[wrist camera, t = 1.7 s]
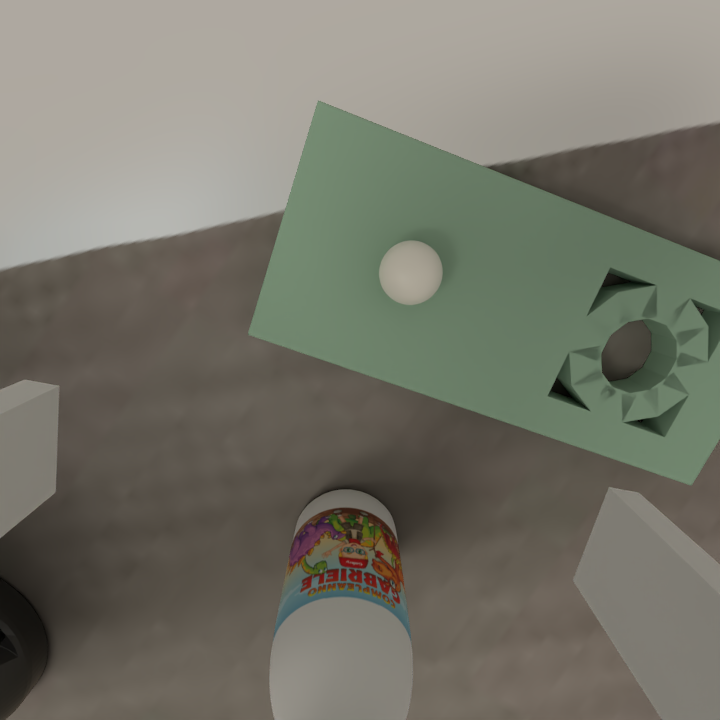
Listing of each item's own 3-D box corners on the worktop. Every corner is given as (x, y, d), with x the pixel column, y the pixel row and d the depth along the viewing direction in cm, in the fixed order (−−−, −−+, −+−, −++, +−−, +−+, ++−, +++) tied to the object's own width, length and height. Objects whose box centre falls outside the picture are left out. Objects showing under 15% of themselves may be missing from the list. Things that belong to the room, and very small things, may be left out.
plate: (256, 327, 30) (247, 334, 28) (321, 113, 27) (318, 100, 25) (666, 468, 33) (691, 485, 31) (770, 291, 30) (806, 295, 28)
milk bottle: (398, 567, 35) (452, 960, 16) (302, 576, 35) (239, 976, 16) (392, 481, 33) (443, 809, 14) (289, 489, 33) (201, 827, 14)
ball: (368, 289, 27) (371, 296, 24) (389, 231, 26) (395, 229, 23) (423, 308, 28) (433, 318, 24) (445, 252, 27) (459, 254, 23)
